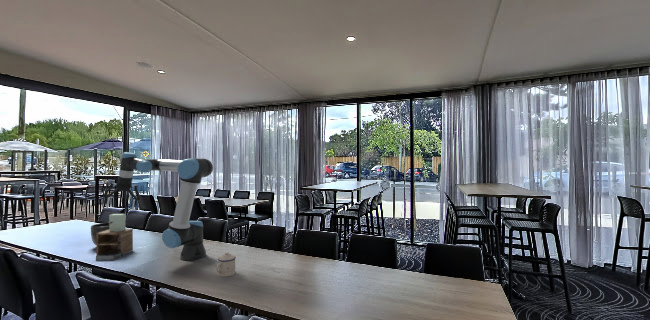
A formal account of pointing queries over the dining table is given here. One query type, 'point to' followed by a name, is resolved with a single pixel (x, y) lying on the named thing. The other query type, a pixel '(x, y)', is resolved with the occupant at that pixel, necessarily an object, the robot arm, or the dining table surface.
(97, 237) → the wood-grain box
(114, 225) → the pale green block
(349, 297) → the dining table surface
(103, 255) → the grey drawer
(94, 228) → the planter
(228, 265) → the teacup with lid
